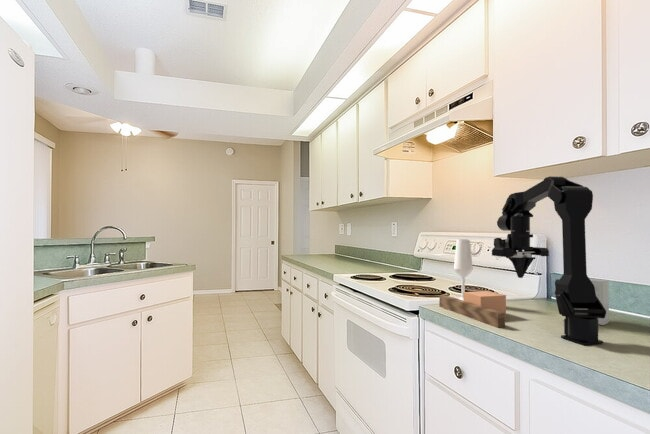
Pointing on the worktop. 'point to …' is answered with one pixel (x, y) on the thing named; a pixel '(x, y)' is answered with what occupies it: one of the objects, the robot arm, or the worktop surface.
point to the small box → (602, 297)
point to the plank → (473, 311)
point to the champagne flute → (463, 260)
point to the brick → (487, 300)
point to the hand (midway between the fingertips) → (520, 277)
